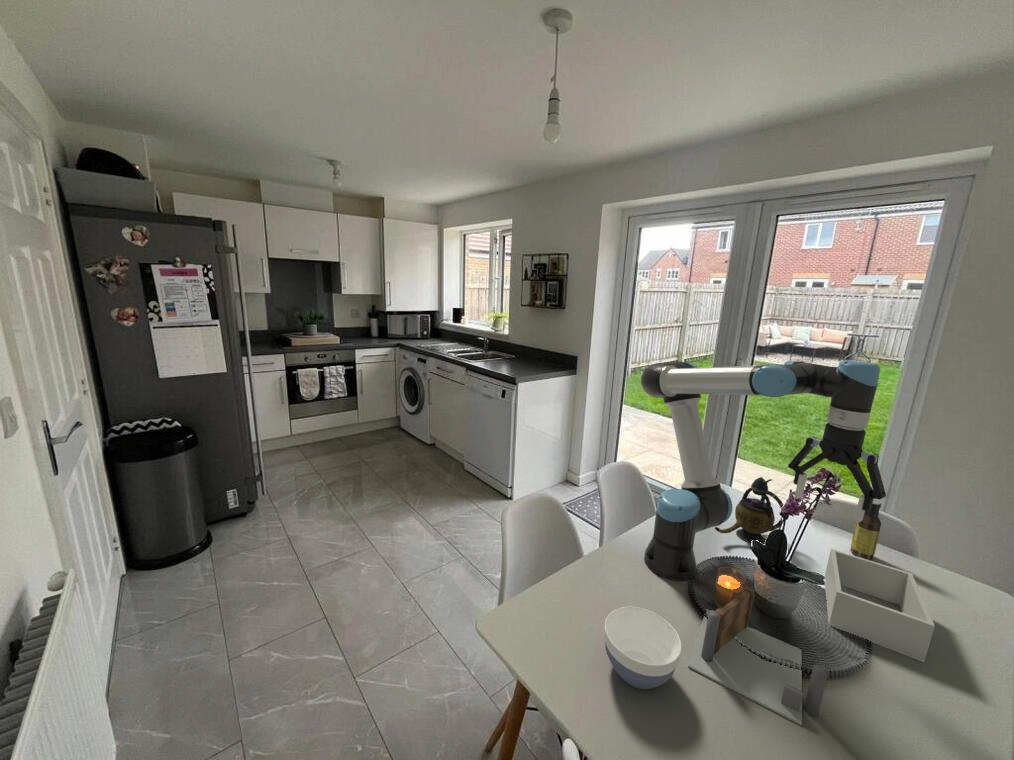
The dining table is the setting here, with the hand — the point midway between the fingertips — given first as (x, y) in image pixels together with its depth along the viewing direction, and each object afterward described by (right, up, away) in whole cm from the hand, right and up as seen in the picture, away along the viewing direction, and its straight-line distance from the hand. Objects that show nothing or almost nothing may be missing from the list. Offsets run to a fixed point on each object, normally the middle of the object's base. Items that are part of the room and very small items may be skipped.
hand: (826, 508), depth 102 cm
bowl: (-51, -33, -11) cm, 61 cm away
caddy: (+19, -32, +10) cm, 38 cm away
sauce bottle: (+41, -28, +38) cm, 62 cm away
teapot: (+4, -25, +44) cm, 50 cm away
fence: (-23, -33, -7) cm, 41 cm away
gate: (-25, -31, -2) cm, 40 cm away
